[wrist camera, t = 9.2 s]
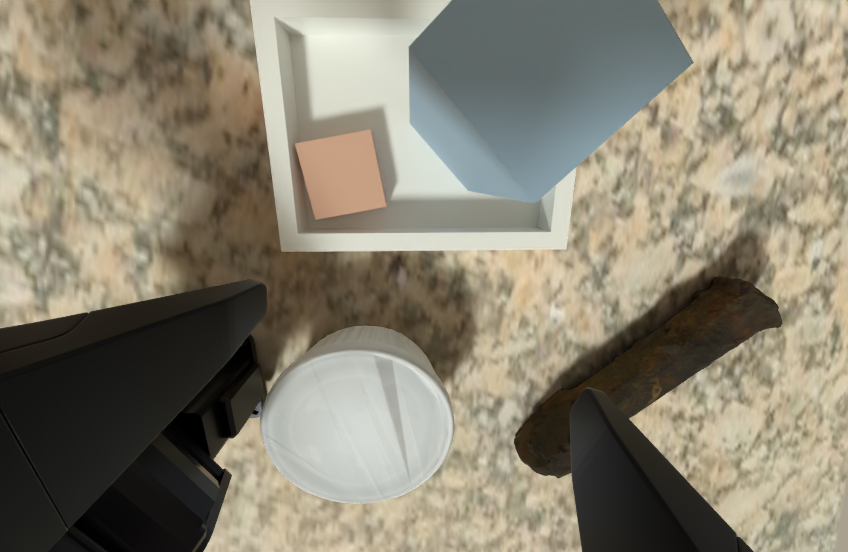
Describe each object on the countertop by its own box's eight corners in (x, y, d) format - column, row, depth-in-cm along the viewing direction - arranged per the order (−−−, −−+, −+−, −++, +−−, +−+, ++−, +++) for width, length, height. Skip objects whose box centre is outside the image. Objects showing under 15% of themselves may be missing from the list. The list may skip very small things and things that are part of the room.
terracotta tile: (322, 217, 20) (315, 219, 18) (303, 146, 18) (294, 143, 17) (388, 204, 20) (386, 206, 18) (373, 133, 18) (370, 129, 17)
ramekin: (475, 381, 25) (492, 434, 19) (370, 466, 26) (361, 534, 21) (368, 278, 22) (356, 307, 17) (259, 379, 24) (219, 433, 19)
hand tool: (712, 265, 23) (785, 286, 18) (735, 307, 24) (810, 336, 19) (492, 414, 26) (509, 462, 21) (520, 445, 27) (542, 499, 22)
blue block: (467, 191, 20) (535, 203, 9) (409, 123, 18) (408, 46, 8) (533, 129, 19) (693, 62, 8) (477, 54, 18) (578, -136, 7)
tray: (299, 242, 21) (281, 251, 18) (274, 21, 18) (248, -10, 15) (545, 240, 22) (566, 249, 19) (567, 26, 18) (597, -4, 15)
